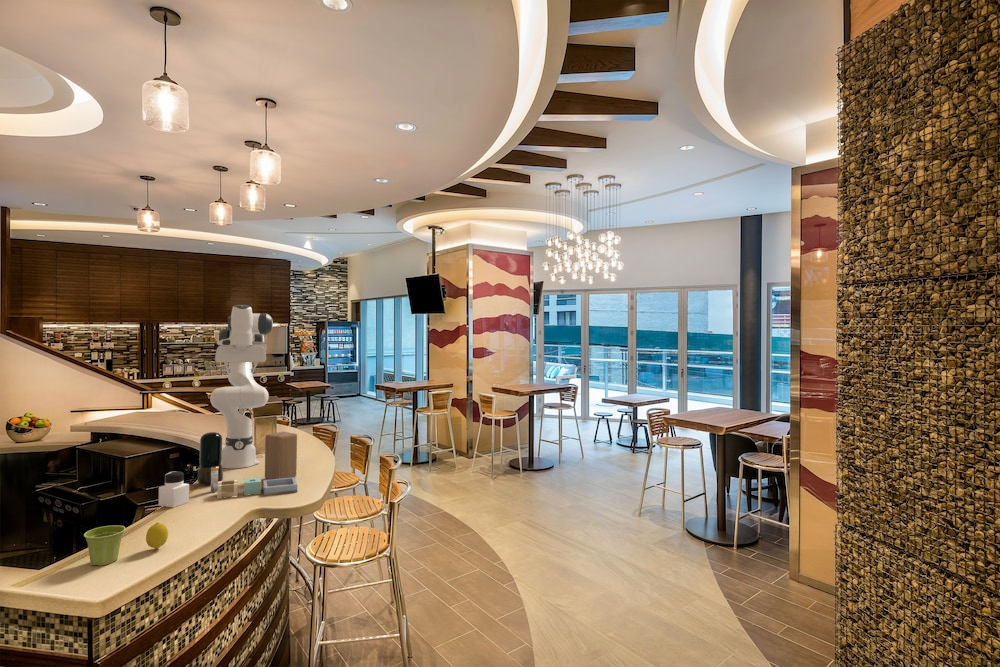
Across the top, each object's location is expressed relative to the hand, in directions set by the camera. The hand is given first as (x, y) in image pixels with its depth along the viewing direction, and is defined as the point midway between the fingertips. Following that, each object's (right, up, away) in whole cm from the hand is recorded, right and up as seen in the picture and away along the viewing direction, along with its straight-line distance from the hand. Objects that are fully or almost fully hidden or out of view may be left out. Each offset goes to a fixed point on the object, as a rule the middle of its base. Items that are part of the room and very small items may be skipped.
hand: (240, 372), depth 229 cm
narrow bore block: (+13, -48, -16) cm, 52 cm away
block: (+15, -48, +6) cm, 51 cm away
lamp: (-11, -48, -4) cm, 49 cm away
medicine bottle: (-9, -48, -32) cm, 58 cm away
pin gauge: (-3, -48, -15) cm, 50 cm away
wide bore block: (+5, -48, -20) cm, 52 cm away
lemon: (+11, -48, -73) cm, 88 cm away
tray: (+22, -48, -11) cm, 54 cm away
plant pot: (+2, -48, -82) cm, 95 cm away
